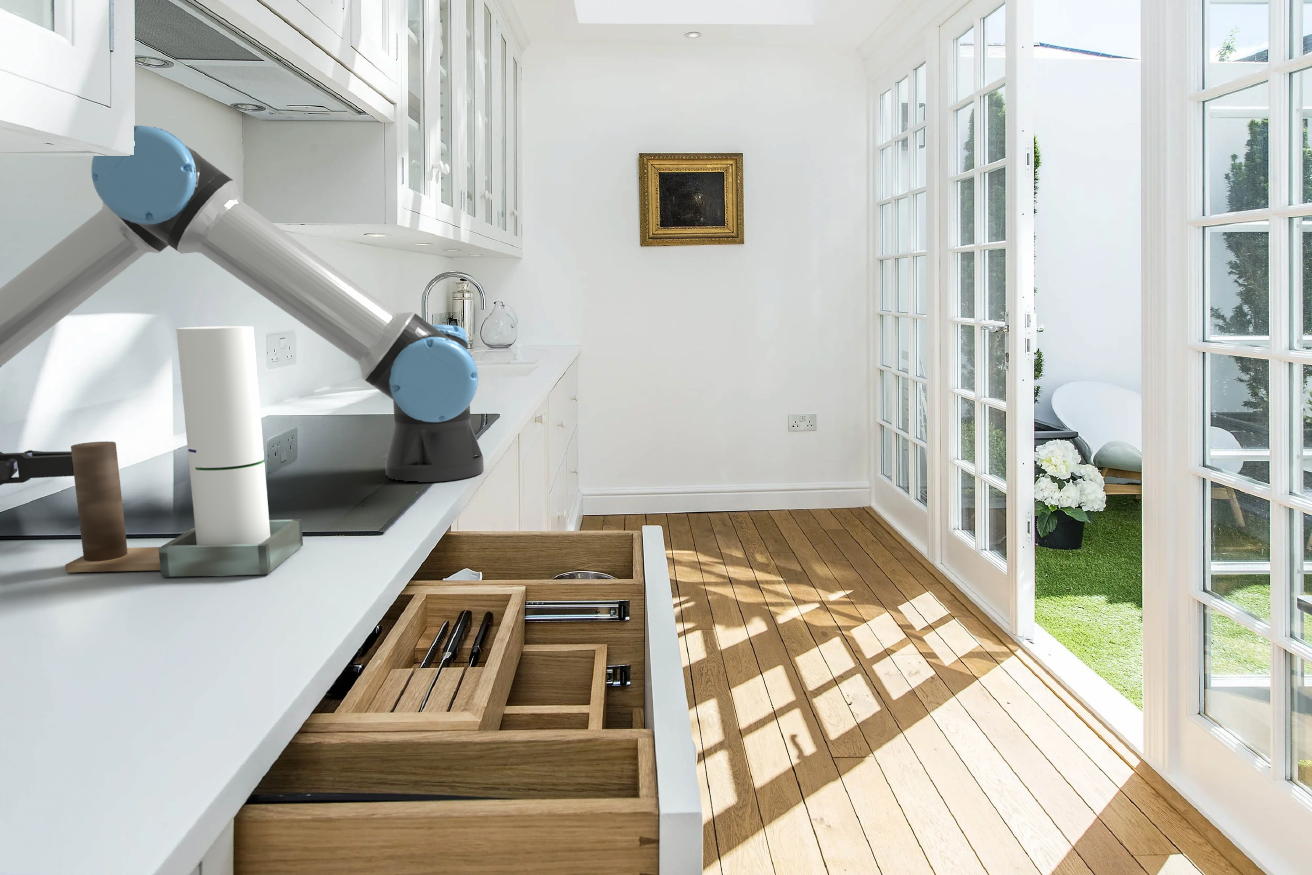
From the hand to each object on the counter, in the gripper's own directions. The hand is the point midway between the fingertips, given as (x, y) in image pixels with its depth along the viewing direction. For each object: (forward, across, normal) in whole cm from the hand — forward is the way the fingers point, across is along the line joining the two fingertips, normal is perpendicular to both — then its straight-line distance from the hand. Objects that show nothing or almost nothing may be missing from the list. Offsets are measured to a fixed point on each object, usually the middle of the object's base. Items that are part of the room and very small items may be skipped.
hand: (53, 482), depth 98 cm
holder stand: (+15, -4, -8) cm, 17 cm away
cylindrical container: (+19, -7, -9) cm, 22 cm away
